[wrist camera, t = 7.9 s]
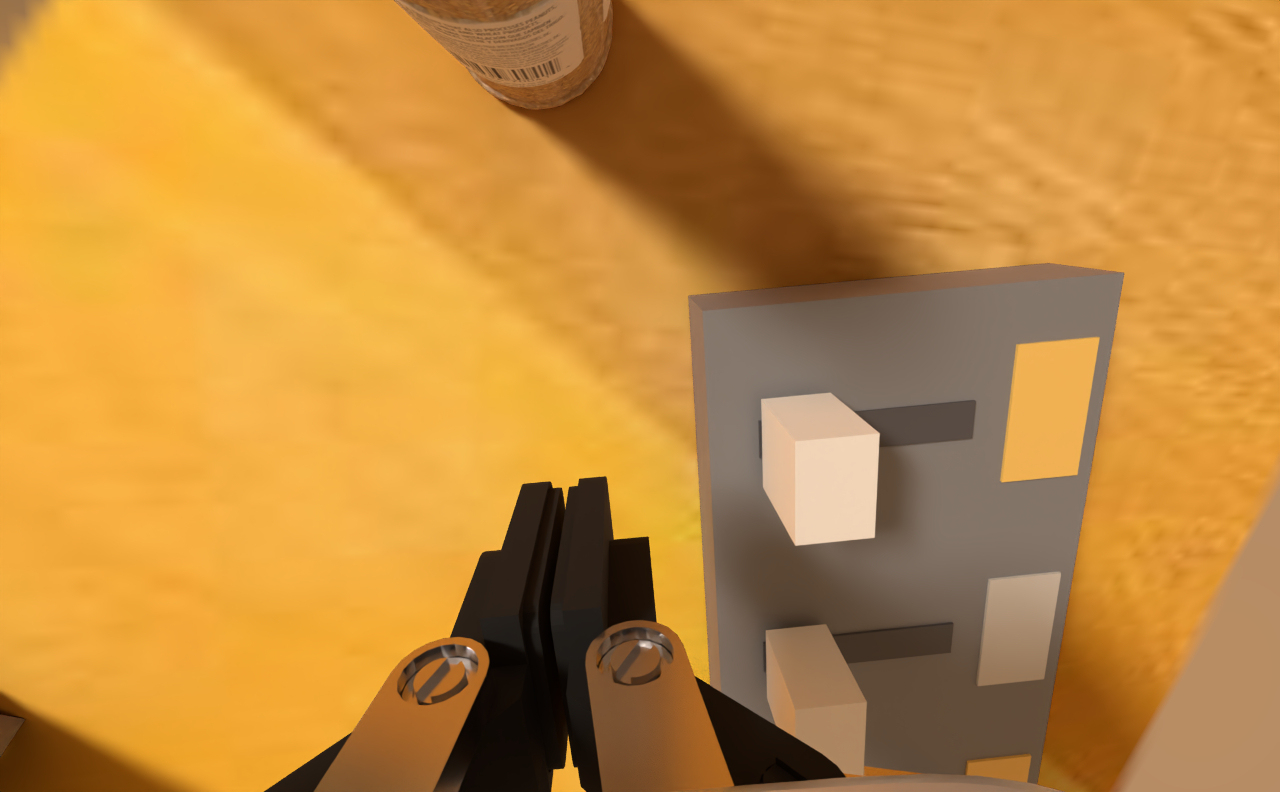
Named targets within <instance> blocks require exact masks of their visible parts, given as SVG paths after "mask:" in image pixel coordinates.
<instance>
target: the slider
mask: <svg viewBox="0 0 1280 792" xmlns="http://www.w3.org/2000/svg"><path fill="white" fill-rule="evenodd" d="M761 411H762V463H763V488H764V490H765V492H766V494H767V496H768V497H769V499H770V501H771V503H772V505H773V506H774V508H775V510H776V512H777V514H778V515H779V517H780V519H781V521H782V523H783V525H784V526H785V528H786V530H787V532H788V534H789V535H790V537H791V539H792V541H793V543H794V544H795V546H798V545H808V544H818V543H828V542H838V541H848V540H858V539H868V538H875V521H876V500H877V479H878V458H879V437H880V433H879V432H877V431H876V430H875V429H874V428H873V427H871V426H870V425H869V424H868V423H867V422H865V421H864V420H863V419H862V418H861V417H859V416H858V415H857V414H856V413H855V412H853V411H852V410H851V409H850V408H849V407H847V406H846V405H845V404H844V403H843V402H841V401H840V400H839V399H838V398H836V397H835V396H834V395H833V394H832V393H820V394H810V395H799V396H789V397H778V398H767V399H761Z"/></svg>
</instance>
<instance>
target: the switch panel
mask: <svg viewBox="0 0 1280 792" xmlns="http://www.w3.org/2000/svg"><path fill="white" fill-rule="evenodd" d="M1123 278H1124V273H1122V272H1114V271H1106V270H1098V269H1091V268H1083V267H1075V266H1067V265H1059V264H1051V263H1046V264H1034V265H1023V266H1012V267H1001V268H990V269H979V270H968V271H957V272H946V273H934V274H923V275H912V276H901V277H890V278H879V279H868V280H857V281H846V282H834V283H823V284H812V285H801V286H790V287H779V288H768V289H757V290H746V291H734V292H723V293H712V294H701V295H690V296H689V314H690V332H691V350H692V367H693V385H694V403H695V421H696V439H697V456H698V474H699V492H700V510H701V528H702V545H703V563H704V581H705V599H706V617H707V634H708V652H709V670H710V686H712V687H713V688H715V689H717V690H718V691H720V692H722V693H723V694H725V695H727V696H728V697H730V698H732V699H733V700H735V701H736V702H738V703H740V704H741V705H743V706H745V707H746V708H748V709H750V710H751V711H753V712H754V713H756V714H758V715H759V716H761V717H763V718H764V719H766V720H768V721H769V722H771V723H773V724H774V725H776V724H775V721H774V718H773V715H772V712H771V709H770V706H769V703H768V700H767V674H766V630H774V629H783V628H793V627H803V626H812V625H822V624H826V625H827V627H828V629H829V631H830V633H831V635H832V636H833V638H834V640H835V642H836V644H837V646H838V648H839V650H840V652H841V654H842V656H843V657H844V659H845V661H846V663H847V665H848V667H849V669H850V671H851V673H852V675H853V677H854V678H855V680H856V682H857V684H858V686H859V688H860V690H861V692H862V694H863V696H864V698H865V700H866V701H867V710H866V731H865V752H864V766H866V767H874V768H882V769H891V770H899V771H907V772H915V773H923V774H950V775H974V776H984V777H992V778H999V779H1006V780H1013V781H1020V782H1027V783H1032V784H1036V785H1037V782H1038V777H1039V771H1040V765H1041V759H1042V753H1043V747H1044V741H1045V735H1046V730H1047V724H1048V718H1049V712H1050V706H1051V700H1052V694H1053V689H1054V683H1055V677H1056V671H1057V665H1058V659H1059V653H1060V647H1061V642H1062V636H1063V630H1064V624H1065V618H1066V612H1067V606H1068V601H1069V595H1070V589H1071V583H1072V577H1073V571H1074V565H1075V559H1076V554H1077V548H1078V542H1079V536H1080V530H1081V524H1082V518H1083V513H1084V507H1085V501H1086V495H1087V489H1088V483H1089V477H1090V472H1091V466H1092V460H1093V454H1094V448H1095V442H1096V436H1097V430H1098V425H1099V419H1100V413H1101V407H1102V401H1103V395H1104V389H1105V384H1106V378H1107V372H1108V366H1109V360H1110V354H1111V348H1112V342H1113V337H1114V331H1115V325H1116V319H1117V313H1118V307H1119V301H1120V296H1121V290H1122V284H1123ZM820 393H832V394H833V395H834V396H835V397H836V398H838V399H839V400H840V401H841V402H843V403H844V404H845V405H846V406H847V407H849V408H850V409H851V410H852V411H853V412H855V413H856V414H857V415H858V416H859V417H861V418H862V419H863V420H864V421H865V422H867V423H868V424H869V425H870V426H871V427H873V428H874V429H875V430H876V431H877V432H879V433H880V437H879V458H878V479H877V500H876V521H875V538H868V539H858V540H848V541H838V542H828V543H818V544H808V545H798V546H795V544H794V543H793V541H792V539H791V537H790V535H789V534H788V532H787V530H786V528H785V526H784V525H783V523H782V521H781V519H780V517H779V515H778V514H777V512H776V510H775V508H774V506H773V505H772V503H771V501H770V499H769V497H768V496H767V494H766V492H765V490H764V488H763V463H762V411H761V399H767V398H778V397H789V396H799V395H810V394H820ZM863 774H864V773H863Z"/></svg>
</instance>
